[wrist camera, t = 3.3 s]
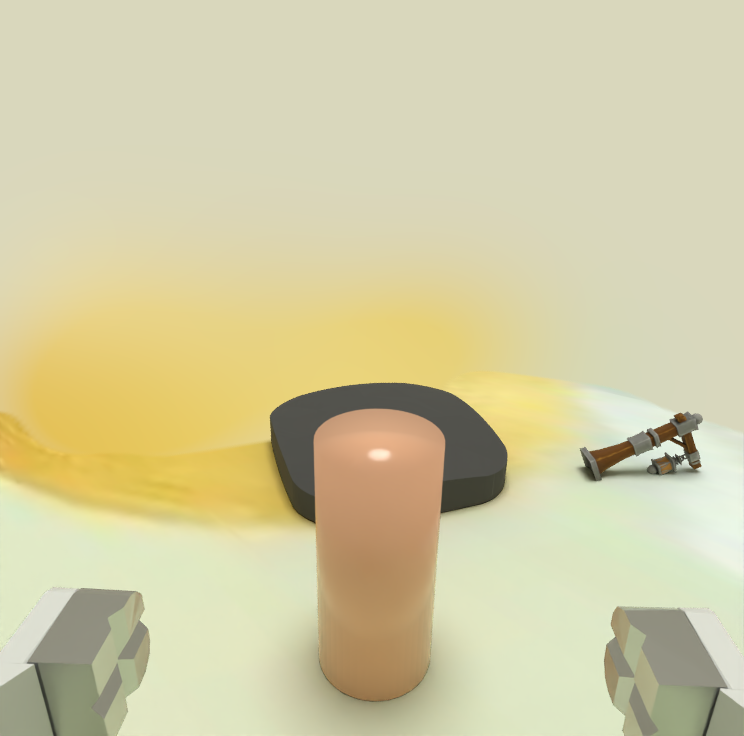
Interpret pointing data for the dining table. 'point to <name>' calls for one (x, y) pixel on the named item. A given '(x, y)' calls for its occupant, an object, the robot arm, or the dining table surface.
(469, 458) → the media streaming box
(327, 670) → the salmon orange cylinder
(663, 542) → the dining table surface
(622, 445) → the brown grey jointed tubes
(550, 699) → the dining table surface
